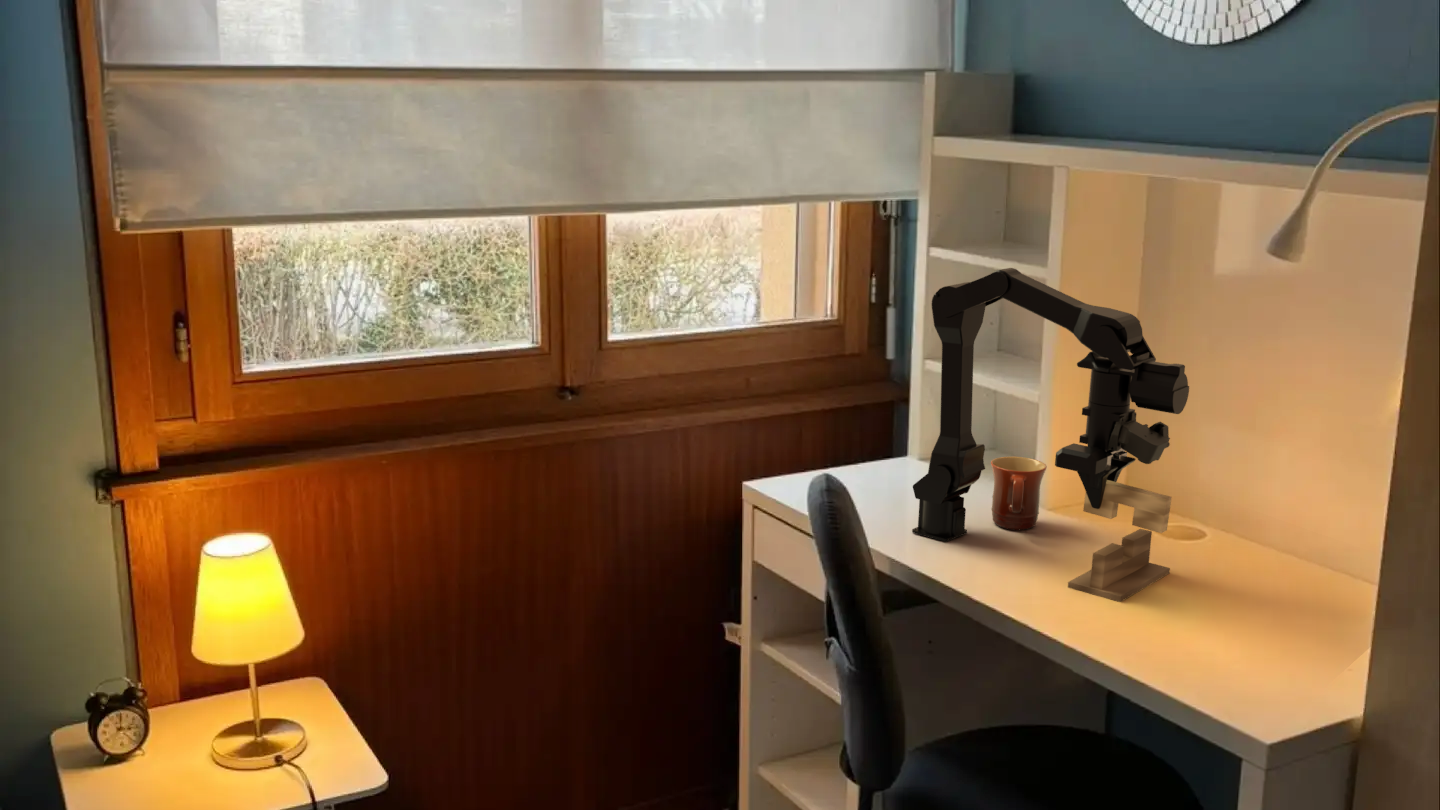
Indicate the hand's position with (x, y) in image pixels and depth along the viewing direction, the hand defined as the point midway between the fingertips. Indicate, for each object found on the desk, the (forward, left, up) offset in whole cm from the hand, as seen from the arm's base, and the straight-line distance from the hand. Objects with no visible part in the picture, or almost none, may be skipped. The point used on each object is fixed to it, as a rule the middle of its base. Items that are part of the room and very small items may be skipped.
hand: (1099, 506), depth 200 cm
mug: (-19, +10, -10) cm, 24 cm away
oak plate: (+4, 0, -1) cm, 4 cm away
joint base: (+4, 0, -10) cm, 11 cm away
